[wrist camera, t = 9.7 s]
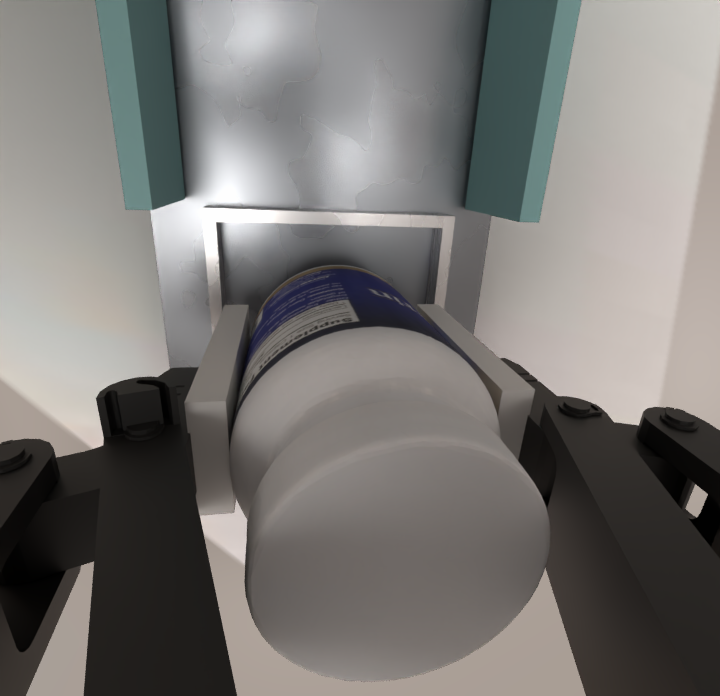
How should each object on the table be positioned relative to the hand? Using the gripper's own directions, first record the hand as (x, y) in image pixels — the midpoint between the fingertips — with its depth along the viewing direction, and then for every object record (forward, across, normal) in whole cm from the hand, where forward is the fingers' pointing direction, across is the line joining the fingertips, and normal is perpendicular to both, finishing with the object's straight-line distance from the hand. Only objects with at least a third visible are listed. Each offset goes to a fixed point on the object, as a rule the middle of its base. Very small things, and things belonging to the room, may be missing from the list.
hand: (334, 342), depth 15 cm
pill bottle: (0, 0, 0) cm, 0 cm away
